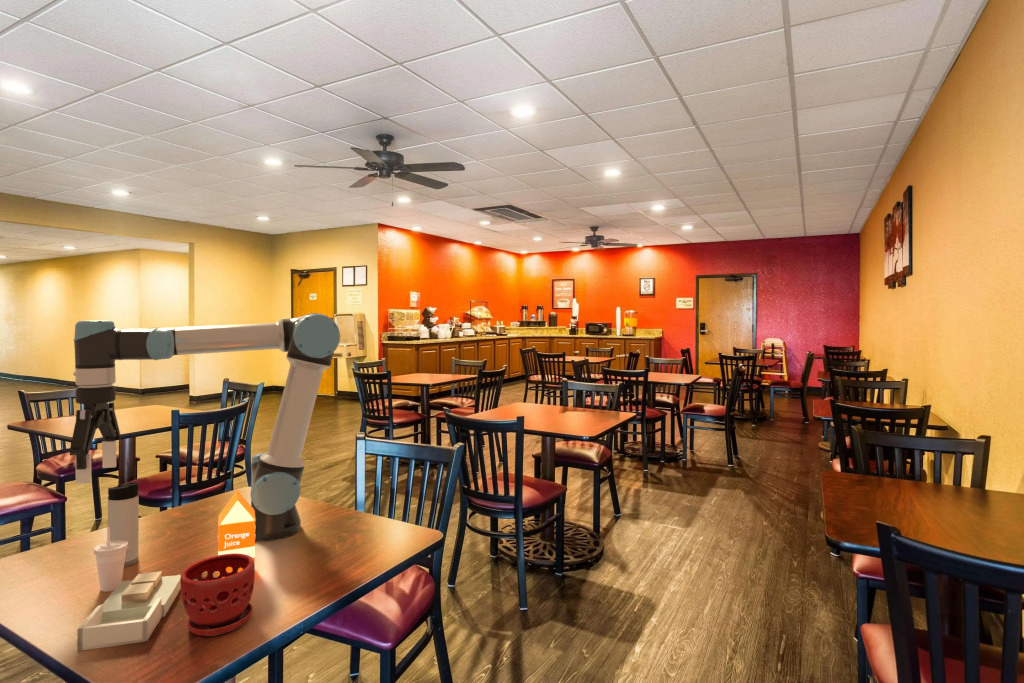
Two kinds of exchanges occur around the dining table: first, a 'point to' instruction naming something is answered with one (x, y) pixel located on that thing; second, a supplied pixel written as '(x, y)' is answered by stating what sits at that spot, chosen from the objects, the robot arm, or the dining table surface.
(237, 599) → the plant pot
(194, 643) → the dining table surface
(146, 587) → the tile front
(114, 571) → the smoothie
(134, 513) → the travel mug
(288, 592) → the dining table surface
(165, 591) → the board
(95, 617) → the tray
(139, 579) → the tile rear
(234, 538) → the orange juice
